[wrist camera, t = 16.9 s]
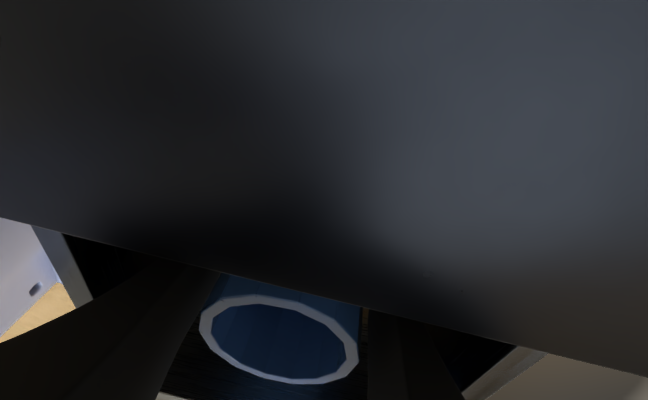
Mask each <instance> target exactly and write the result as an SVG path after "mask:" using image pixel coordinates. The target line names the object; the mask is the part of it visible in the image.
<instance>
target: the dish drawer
mask: <svg viewBox="0 0 648 400" xmlns="http://www.w3.org/2000/svg"><path fill="white" fill-rule="evenodd" d="M30 226H31V227H32V229H33V231H34V233H35V235H36V236H37V238H38V240H39V242H40V244H41V246H42V247H43V249H44V251H45V253H46V255H47V256H48V258H49V260H50V262H51V264H52V266H53V267H54V269H55V271H56V273H57V275H58V276H59V278H60V280H61V282H62V284H63V285H64V287H65V289H66V291H67V293H68V295H69V296H70V298H71V300H72V302H73V304H74V305H75V307H76V308H78V307H80V306H82V305H84V304H86V303H88V302H90V301H91V300H93V299H95V298H97V297H99V296H101V295H103V294H104V293H106V292H108V291H109V290H111V289H113V288H115V287H116V286H118V285H120V284H121V283H123V282H125V281H126V280H128V279H129V278H131V277H133V276H134V275H136V274H137V273H139V272H140V271H142V270H143V269H144V268H146V267H147V266H149V265H150V264H152V263H153V262H155V261H156V260H158V259H159V258H161V257H157V256H153V255H149V254H145V253H141V252H137V251H133V250H129V249H125V248H121V247H117V246H113V245H109V244H105V243H101V242H97V241H93V240H89V239H85V238H81V237H77V236H73V235H68V234H64V233H60V232H56V231H52V230H48V229H44V228H40V227H36V226H32V225H30ZM220 274H221V272H220ZM219 276H220V275H219ZM218 278H219V277H218ZM217 280H218V279H217ZM209 295H210V294H209ZM208 297H209V296H208ZM207 299H208V298H207ZM205 302H206V301H205ZM204 304H205V303H204ZM203 306H204V305H203ZM203 306H202V308H203ZM202 308H201V310H202ZM201 310H200V312H201ZM200 312H199V313H198V315H197V317H196V318H195V320H194V322H193V324H192V325H191V327H190V329H189V331H188V332H187V334H186V336H185V338H184V339H183V341H182V343H181V345H180V347H179V349H178V351H177V353H176V356H175V358H174V360H173V362H172V364H171V366H170V368H169V371H168V373H167V375H166V377H165V380H164V382H163V384H162V386H161V389H160V391H159V393H158V395H157V398H156V400H367V396H368V313H369V309H368V308H364V307H363V317H362V334H361V351H360V361H359V363H358V365H357V366H356V367H355V368H354V369H353V370H352V371H351V372H350V373H349V374H348V376H346V377H344V378H341V379H337V380H334V381H331V382H328V383H324V384H290V383H285V382H280V381H275V380H271V379H266V378H263V377H259V376H257V375H254V374H252V373H250V372H247V371H245V370H242V369H240V368H237V367H235V366H233V365H232V364H230V363H229V362H227V361H226V360H225V359H223V358H222V357H220V356H219V355H218V354H216V353H215V352H214V351H212V350H211V349H210V348H209V346H208V345H207V343H206V342H205V340H204V338H203V337H202V335H201V334H200V332H199V330H198V329H199V320H200ZM424 324H425V326H426V328H427V330H428V332H429V335H430V337H431V339H432V341H433V343H434V345H435V347H436V349H437V351H438V353H439V355H440V357H441V358H442V360H443V362H444V364H445V366H446V368H447V369H448V371H449V373H450V375H451V376H452V378H453V380H454V382H455V383H456V385H457V387H458V388H459V390H460V392H461V393H462V395H463V396H464V398H465V400H486V399H487V398H488V397H490V396H491V395H493V394H494V393H495V392H497V391H498V390H500V389H501V388H502V387H504V386H505V385H506V384H508V383H509V382H510V381H512V380H513V379H514V378H516V377H517V376H518V375H520V374H521V373H523V372H524V371H525V370H527V369H528V368H529V367H531V366H532V365H533V364H535V363H536V362H538V361H539V360H540V359H542V358H543V357H544V356H546V355H547V354H548V353H546V352H542V351H538V350H533V349H529V348H525V347H521V346H517V345H513V344H509V343H505V342H501V341H497V340H493V339H489V338H485V337H481V336H477V335H473V334H469V333H465V332H461V331H457V330H453V329H449V328H445V327H440V326H436V325H432V324H428V323H424Z"/></svg>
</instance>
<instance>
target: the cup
mask: <svg viewBox="0 0 648 400" xmlns="http://www.w3.org/2000/svg"><path fill="white" fill-rule="evenodd" d="M362 317H363V307H360V306H356V305H352V304H347V303H343V302H339V301H335V300H331V299H327V298H323V297H319V296H315V295H311V294H307V293H303V292H299V291H295V290H291V289H287V288H283V287H279V286H275V285H271V284H267V283H263V282H259V281H254V280H250V279H246V278H242V277H238V276H234V275H230V274H226V273H222V272H221V274H220V276H219V278H218V280H217V281H216V283H215V285H214V287H213V289H212V291H211V293H210V295H209V297H208V299H207V300H206V302H205V304H204V306H203V308H202V310H201V312H200V320H199V329H198V330H199V332H200V334H201V335H202V337H203V338H204V340H205V342H206V343H207V345H208V346H209V348H210V349H211V350H212V351H214V352H215V353H216V354H218V355H219V356H220V357H222V358H223V359H225V360H226V361H227V362H229V363H230V364H232V365H233V366H235V367H237V368H240V369H242V370H245V371H247V372H250V373H252V374H254V375H257V376H259V377H263V378H266V379H271V380H275V381H280V382H285V383H290V384H324V383H328V382H331V381H334V380H337V379H341V378H344V377H346V376H348V374H349V373H350V372H351V371H352V370H353V369H354V368H355V367H356V366H357V365H358V363H359V361H360V351H361V334H362Z"/></svg>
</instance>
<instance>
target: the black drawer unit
mask: <svg viewBox="0 0 648 400" xmlns="http://www.w3.org/2000/svg"><path fill="white" fill-rule="evenodd" d="M0 218H4V219H8V220H12V221H16V222H20V223H24V224H28V225H32V226H36V227H40V228H44V229H48V230H52V231H56V232H60V233H64V234H68V235H73V236H77V237H81V238H85V239H89V240H93V241H97V242H101V243H105V244H109V245H113V246H117V247H121V248H125V249H129V250H133V251H137V252H141V253H145V254H149V255H153V256H157V257H161V258H166V259H170V260H174V261H178V262H182V263H186V264H190V265H194V266H198V267H202V268H206V269H210V270H214V271H218V272H222V273H226V274H230V275H234V276H238V277H242V278H246V279H250V280H254V281H259V282H263V283H267V284H271V285H275V286H279V287H283V288H287V289H291V290H295V291H299V292H303V293H307V294H311V295H315V296H319V297H323V298H327V299H331V300H335V301H339V302H343V303H347V304H352V305H356V306H360V307H364V308H368V309H372V310H376V311H380V312H384V313H388V314H392V315H396V316H400V317H404V318H408V319H412V320H416V321H420V322H424V323H428V324H432V325H436V326H440V327H445V328H449V329H453V330H457V331H461V332H465V333H469V334H473V335H477V336H481V337H485V338H489V339H493V340H497V341H501V342H505V343H509V344H513V345H517V346H521V347H525V348H529V349H533V350H538V351H542V352H546V353H550V354H554V355H558V356H562V357H566V358H570V359H574V360H578V361H582V362H586V363H590V364H595V365H598V366H602V367H606V368H610V369H614V370H619V371H622V372H627V373H631V374H635V375H639V376H643V377H647V378H648V0H0Z"/></svg>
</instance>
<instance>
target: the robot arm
mask: <svg viewBox="0 0 648 400" xmlns="http://www.w3.org/2000/svg"><path fill="white" fill-rule="evenodd" d="M219 275H220V272H218V271H214V270H210V269H206V268H202V267H198V266H194V265H190V264H186V263H182V262H178V261H174V260H170V259H166V258H159V259H158V260H156V261H155V262H153V263H152V264H150V265H149V266H147V267H146V268H144V269H143V270H142V271H140V272H139V273H137V274H136V275H134V276H133V277H131V278H129V279H128V280H126V281H125V282H123V283H121V284H120V285H118V286H116V287H115V288H113V289H111V290H109V291H108V292H106V293H104V294H103V295H101V296H99V297H97V298H95V299H93V300H91V301H90V302H88V303H86V304H84V305H82V306H80V307H78V308H76V309H74V310H72V311H71V312H69V313H66V314H64V315H62V316H60V317H58V318H56V319H54V320H52V321H50V322H47V323H45V324H43V325H41V326H39V327H37V328H34V329H32V330H30V331H28V332H26V333H23V334H21V335H19V336H17V337H14V338H12V339H9V340H7V341H4V342H2V343H0V400H156V398H157V395H158V393H159V391H160V389H161V386H162V384H163V382H164V380H165V377H166V375H167V373H168V371H169V368H170V366H171V364H172V362H173V360H174V358H175V356H176V353H177V351H178V349H179V347H180V345H181V343H182V341H183V339H184V338H185V336H186V334H187V332H188V331H189V329H190V327H191V325H192V324H193V322H194V320H195V318H196V317H197V315H198V313H199V312H200V310H201V308H202V306H203V305H204V303H205V301H206V300H207V298H208V296H209V294H210V293H211V291H212V289H213V287H214V285H215V283H216V281H217V279H218V277H219ZM56 282H58V283H61V284H62V282H61V280H60V278H59V276H58V275H57V273H56V271H55V269H54V267H53V266H52V264H51V262H50V260H49V258H48V256H47V255H46V253H45V251H44V249H43V247H42V246H41V244H40V242H39V240H38V238H37V236H36V235H35V233H34V231H33V229H32V227H31V226H30V225H28V224H24V223H20V222H16V221H12V220H8V219H4V218H0V337H1V336H2V335H3V334H4V333H5V332H6V331H7V330H8V329H9V328H10V327H11V326H12V325H13V324H14V323H15V322H16V321H17V320H18V319H19V318H20V317H22V316H23V315H24V314H25V313H26V312H27V311H28V310H29V309H30V308H31V307H32V306H33V305H34V304H35V303H36V302H37V301H38V300H39V299H40V298H41V297H42V296H43V295H44V294H45V293H46V292H47V291H48V290H49V289H50V288H51V287H52V286H53V285H54V284H55V283H56ZM367 400H465V398H464V396H463V395H462V393H461V392H460V390H459V388H458V387H457V385H456V383H455V382H454V380H453V378H452V376H451V375H450V373H449V371H448V369H447V368H446V366H445V364H444V362H443V360H442V358H441V357H440V355H439V353H438V351H437V349H436V347H435V345H434V343H433V341H432V339H431V337H430V335H429V332H428V330H427V328H426V326H425V324H424V322H420V321H416V320H412V319H408V318H404V317H400V316H396V315H392V314H388V313H384V312H380V311H376V310H372V309H369V313H368V396H367Z"/></svg>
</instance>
